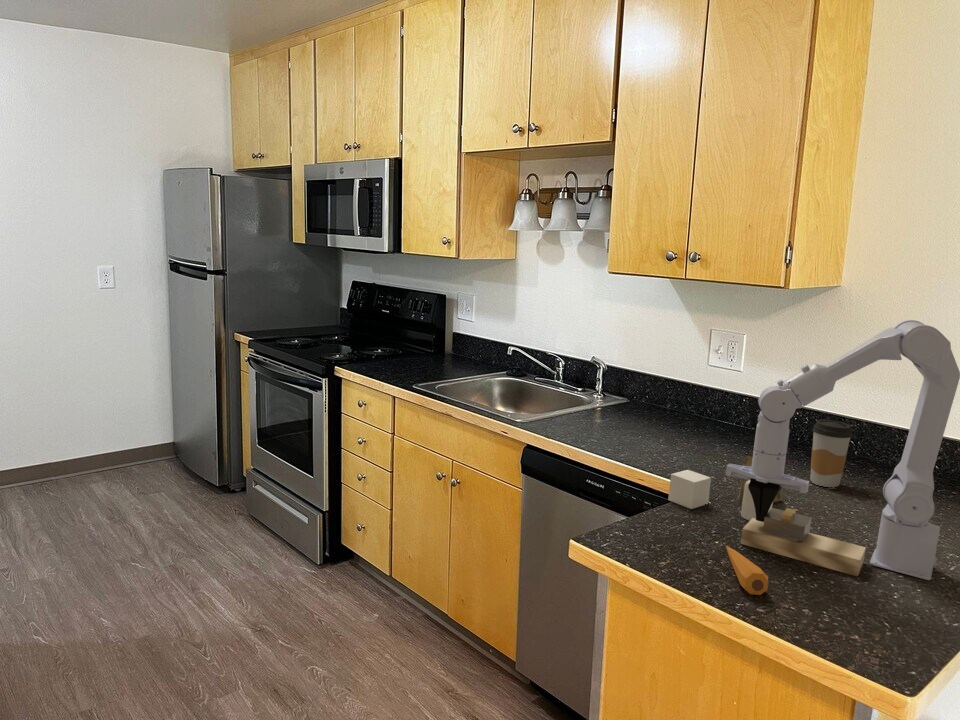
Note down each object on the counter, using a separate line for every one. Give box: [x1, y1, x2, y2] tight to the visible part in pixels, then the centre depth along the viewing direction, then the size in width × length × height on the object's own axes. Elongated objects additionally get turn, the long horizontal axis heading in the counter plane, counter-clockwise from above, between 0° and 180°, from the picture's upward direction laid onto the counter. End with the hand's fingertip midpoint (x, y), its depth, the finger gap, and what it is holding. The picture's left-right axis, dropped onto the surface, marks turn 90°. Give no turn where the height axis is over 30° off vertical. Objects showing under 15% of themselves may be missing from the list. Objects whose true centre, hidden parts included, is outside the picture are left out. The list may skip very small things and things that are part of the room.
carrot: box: [725, 545, 769, 596], centre depth 128 cm, size 20×4×4 cm, turn 176°
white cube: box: [667, 469, 712, 510], centre depth 159 cm, size 6×6×6 cm
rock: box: [738, 456, 783, 506], centre depth 162 cm, size 11×9×10 cm
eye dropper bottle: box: [740, 480, 774, 522], centre depth 150 cm, size 4×6×12 cm
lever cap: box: [763, 507, 812, 542], centre depth 137 cm, size 7×6×4 cm
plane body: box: [740, 518, 867, 577], centre depth 136 cm, size 20×7×3 cm, turn 56°
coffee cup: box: [809, 419, 853, 488], centre depth 176 cm, size 8×8×15 cm
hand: (760, 519), depth 140 cm, fingers closed
